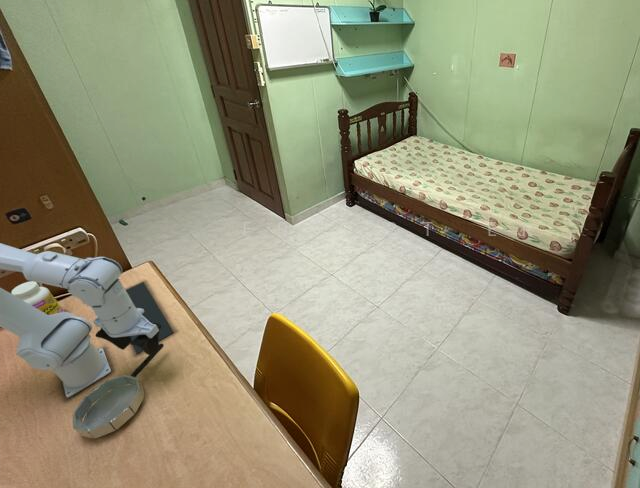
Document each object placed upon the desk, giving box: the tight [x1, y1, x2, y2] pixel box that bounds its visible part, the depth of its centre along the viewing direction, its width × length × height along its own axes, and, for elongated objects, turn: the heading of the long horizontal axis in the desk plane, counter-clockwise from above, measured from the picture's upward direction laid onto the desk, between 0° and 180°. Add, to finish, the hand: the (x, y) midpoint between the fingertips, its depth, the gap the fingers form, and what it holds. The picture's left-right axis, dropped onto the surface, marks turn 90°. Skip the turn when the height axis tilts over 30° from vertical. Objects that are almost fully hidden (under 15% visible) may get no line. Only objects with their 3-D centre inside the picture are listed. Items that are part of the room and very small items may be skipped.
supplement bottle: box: [10, 281, 65, 315], centre depth 86 cm, size 7×7×13 cm
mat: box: [125, 281, 175, 355], centre depth 91 cm, size 28×8×1 cm, turn 50°
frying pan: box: [72, 343, 165, 440], centre depth 72 cm, size 19×11×4 cm, turn 170°
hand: (140, 348), depth 73 cm, fingers open, 7 cm apart
